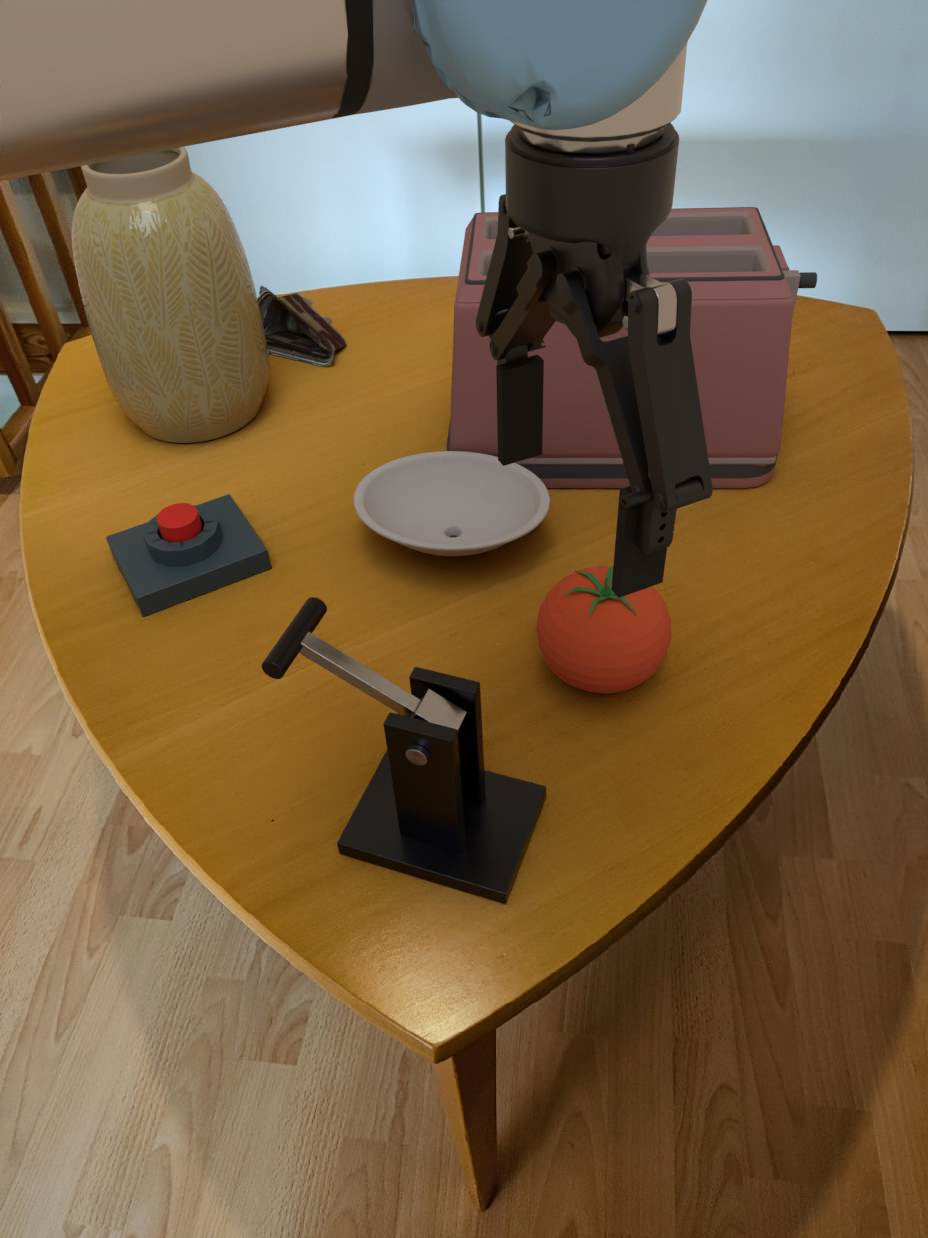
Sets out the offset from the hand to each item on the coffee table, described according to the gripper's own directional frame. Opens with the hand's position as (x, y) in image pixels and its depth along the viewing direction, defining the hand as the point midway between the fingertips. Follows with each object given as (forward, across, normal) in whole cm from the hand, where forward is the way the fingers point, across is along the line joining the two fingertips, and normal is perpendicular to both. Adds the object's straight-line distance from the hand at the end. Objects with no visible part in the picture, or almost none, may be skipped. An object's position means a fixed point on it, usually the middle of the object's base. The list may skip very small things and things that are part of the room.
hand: (573, 517), depth 57 cm
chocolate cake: (+23, +69, -4) cm, 73 cm away
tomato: (+22, +6, -7) cm, 24 cm away
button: (+19, +35, +19) cm, 45 cm away
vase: (+23, +61, +12) cm, 66 cm away
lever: (+10, +2, +13) cm, 17 cm away
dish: (+22, +27, -4) cm, 35 cm away
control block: (+22, +36, +19) cm, 46 cm away
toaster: (+22, +35, -25) cm, 49 cm away
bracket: (+22, -1, +10) cm, 25 cm away
